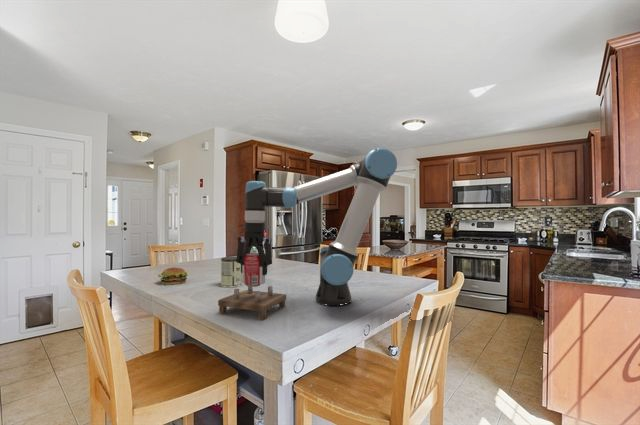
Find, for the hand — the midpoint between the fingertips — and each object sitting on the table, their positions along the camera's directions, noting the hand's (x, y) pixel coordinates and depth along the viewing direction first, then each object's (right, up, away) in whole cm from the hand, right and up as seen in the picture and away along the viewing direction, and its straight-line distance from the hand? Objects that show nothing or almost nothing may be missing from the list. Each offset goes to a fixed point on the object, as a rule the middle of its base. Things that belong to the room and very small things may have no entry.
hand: (253, 282), depth 117 cm
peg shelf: (0, -11, 0) cm, 11 cm away
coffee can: (-21, -11, +42) cm, 48 cm away
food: (-53, -11, +47) cm, 71 cm away
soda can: (0, -1, 0) cm, 1 cm away
